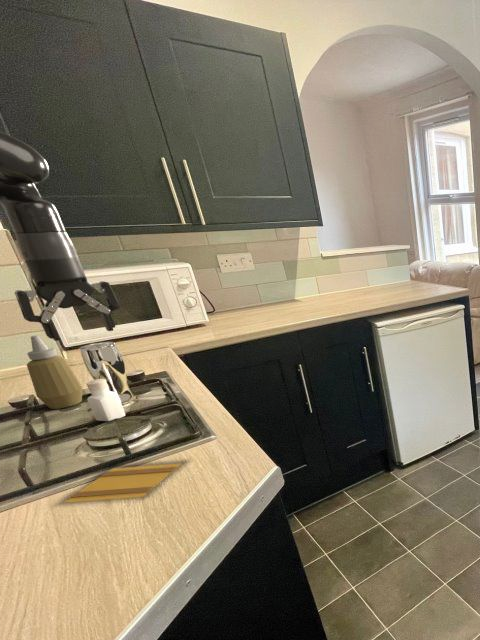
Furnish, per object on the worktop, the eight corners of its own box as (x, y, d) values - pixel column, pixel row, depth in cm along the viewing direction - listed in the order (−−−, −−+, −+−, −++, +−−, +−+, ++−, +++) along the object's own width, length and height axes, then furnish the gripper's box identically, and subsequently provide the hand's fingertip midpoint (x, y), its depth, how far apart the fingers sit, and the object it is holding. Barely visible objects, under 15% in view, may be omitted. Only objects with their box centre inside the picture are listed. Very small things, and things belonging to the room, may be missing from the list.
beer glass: (107, 409, 103) (82, 351, 97) (98, 403, 106) (73, 347, 101) (142, 399, 108) (120, 343, 103) (132, 394, 112) (110, 340, 106)
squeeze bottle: (54, 413, 101) (20, 342, 95) (36, 409, 104) (1, 339, 98) (95, 400, 108) (65, 333, 102) (77, 396, 111) (47, 330, 104)
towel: (65, 505, 68) (63, 502, 67) (113, 471, 77) (112, 467, 77) (143, 499, 69) (142, 496, 68) (182, 466, 78) (181, 462, 78)
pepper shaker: (109, 423, 95) (92, 385, 92) (95, 422, 96) (78, 384, 93) (127, 415, 99) (112, 378, 96) (114, 414, 100) (98, 377, 96)
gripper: (92, 252, 91) (120, 326, 97) (-6, 259, 80) (32, 341, 86) (103, 253, 87) (132, 329, 93) (1, 260, 76) (41, 346, 82)
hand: (84, 335), depth 89 cm, fingers open, 8 cm apart
